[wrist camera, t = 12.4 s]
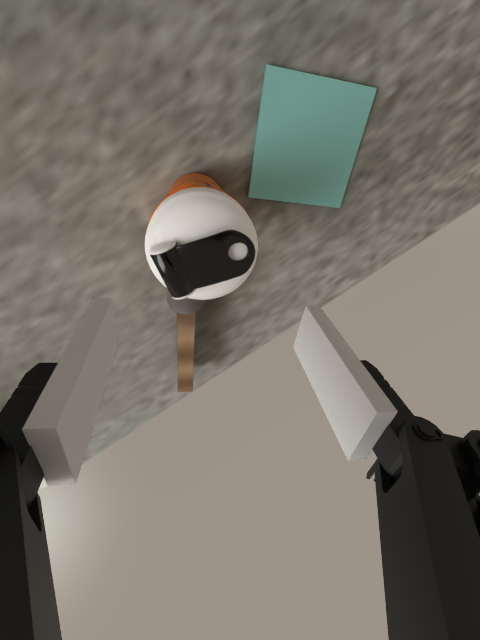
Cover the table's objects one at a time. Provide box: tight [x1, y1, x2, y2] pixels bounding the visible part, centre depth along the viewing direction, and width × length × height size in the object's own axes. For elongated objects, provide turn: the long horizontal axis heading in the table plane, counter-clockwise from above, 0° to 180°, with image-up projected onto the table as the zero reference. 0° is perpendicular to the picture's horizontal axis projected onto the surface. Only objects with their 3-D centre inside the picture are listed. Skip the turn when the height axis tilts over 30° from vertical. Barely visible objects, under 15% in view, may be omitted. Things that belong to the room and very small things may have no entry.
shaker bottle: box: [145, 173, 258, 300], centre depth 28 cm, size 9×9×20 cm
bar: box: [167, 290, 205, 392], centre depth 42 cm, size 21×5×6 cm, turn 173°
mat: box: [248, 64, 377, 208], centre depth 34 cm, size 13×13×1 cm
